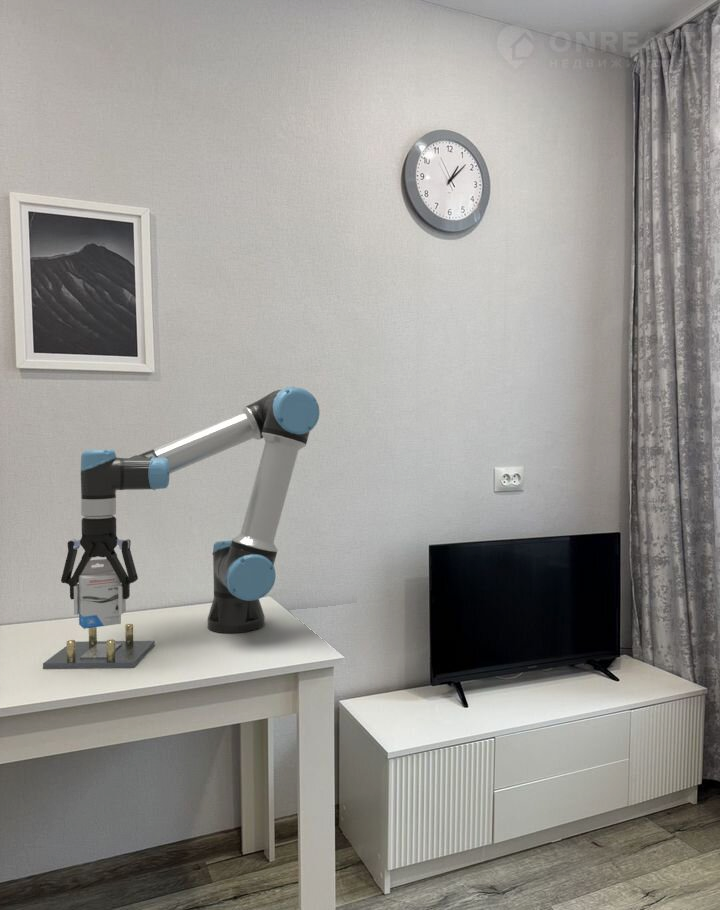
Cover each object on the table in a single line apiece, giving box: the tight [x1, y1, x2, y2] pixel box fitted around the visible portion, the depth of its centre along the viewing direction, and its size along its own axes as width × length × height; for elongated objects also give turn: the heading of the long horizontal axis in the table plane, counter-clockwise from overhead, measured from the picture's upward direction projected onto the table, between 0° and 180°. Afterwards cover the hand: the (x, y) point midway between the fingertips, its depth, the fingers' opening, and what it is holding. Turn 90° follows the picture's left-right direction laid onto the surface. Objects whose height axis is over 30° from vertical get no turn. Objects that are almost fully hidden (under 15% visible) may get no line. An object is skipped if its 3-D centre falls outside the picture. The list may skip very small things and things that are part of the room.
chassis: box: [42, 623, 156, 670], centre depth 160 cm, size 20×16×6 cm
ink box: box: [78, 558, 122, 630], centre depth 160 cm, size 8×5×15 cm, turn 123°
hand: (100, 612), depth 160 cm, fingers closed on ink box, 9 cm apart
